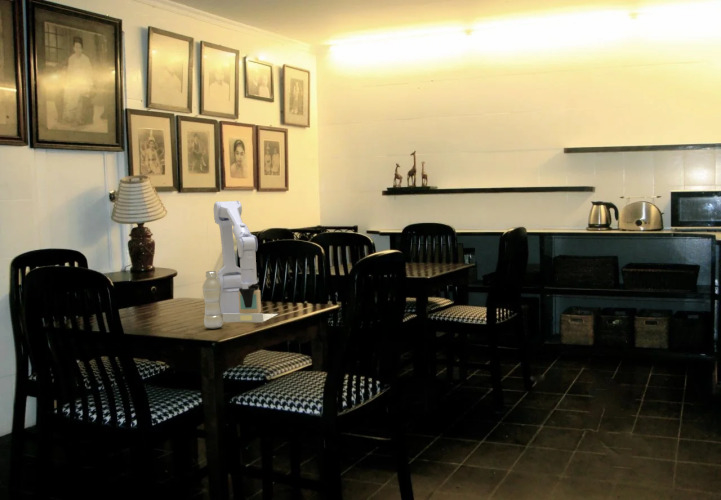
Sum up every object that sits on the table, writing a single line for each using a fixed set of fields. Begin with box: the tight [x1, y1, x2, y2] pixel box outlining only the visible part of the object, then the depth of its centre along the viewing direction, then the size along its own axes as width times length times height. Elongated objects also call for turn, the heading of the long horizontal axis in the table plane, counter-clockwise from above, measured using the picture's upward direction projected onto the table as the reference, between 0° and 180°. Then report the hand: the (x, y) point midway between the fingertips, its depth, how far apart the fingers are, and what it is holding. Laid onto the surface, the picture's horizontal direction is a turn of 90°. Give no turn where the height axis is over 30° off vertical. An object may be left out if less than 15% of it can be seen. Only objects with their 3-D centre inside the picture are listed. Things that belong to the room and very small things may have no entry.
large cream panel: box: [222, 312, 278, 323], centre depth 272 cm, size 15×18×4 cm
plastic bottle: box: [202, 270, 224, 330], centre depth 255 cm, size 6×7×20 cm
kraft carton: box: [239, 289, 262, 313], centre depth 268 cm, size 5×7×8 cm
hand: (250, 306), depth 268 cm, fingers closed on kraft carton, 5 cm apart
